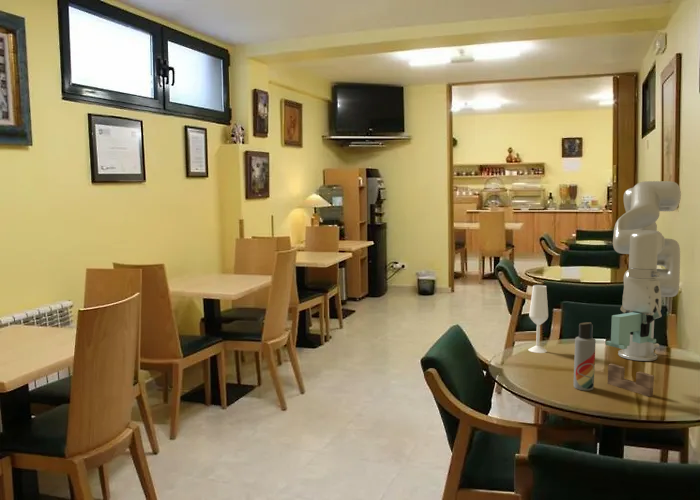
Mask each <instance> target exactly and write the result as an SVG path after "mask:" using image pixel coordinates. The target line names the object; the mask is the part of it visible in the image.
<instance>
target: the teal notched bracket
mask: <svg viewBox="0 0 700 500" xmlns="http://www.w3.org/2000/svg"><path fill="white" fill-rule="evenodd" d="M642 323H643V315H642V313H639V312H630V313H624V312H623V313H620V314H619V313H618V314H613V315H611V327H610V328H611V329H610V340H606V341H605V346H609V347H613V348H617V349H619V350H622V349H627V346H630V332H633V340H632V342H636V343H645V342H650V343H653V344H656V343H657V339H656V338H654V337H653V338H651V326H652V323H650V331H649V336H647V337H641V336H640V330H641V324H642Z"/></svg>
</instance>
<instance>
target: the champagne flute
mask: <svg viewBox="0 0 700 500" xmlns="http://www.w3.org/2000/svg"><path fill="white" fill-rule="evenodd" d="M547 293H548V292H547V285H543V284H534V285H532V291H531V297H530V306H529V314H528V317H529V319H530V320H531V321H532V322H533V323H534V324H535V325H536V333H535V334H536V338H535V339H536V341H535V343H536V344H535V345H534V346H532V347H530V348H528V350H527V351H529V352H531V353H535V354H536V353H537V354H544V353H547V352H548V350H547V349H546V348H544V347H542V346H541V345H540V344H541V343H540V339H541V338H540V337H541V336H540V335H541V325H542V324H544V323H545V322H546V321H547V320H548V318H549V307H548V304H549V303H548V294H547Z"/></svg>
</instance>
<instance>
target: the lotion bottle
mask: <svg viewBox="0 0 700 500" xmlns="http://www.w3.org/2000/svg"><path fill="white" fill-rule="evenodd" d="M578 324H579V325H578V336H575V340H574V359H573V360H574V361H573V362H574V363H573V388H574V389H577V390H579V391H588V392H589V391H593V390H594V387H595V386H594V385H595V365H596V361H595V360H596V342H597V341H596V339H595V338H593V328H594V325H593V324H592V322H591V321H589V322H587V321H585V322H580V323H578Z"/></svg>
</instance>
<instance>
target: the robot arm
mask: <svg viewBox="0 0 700 500" xmlns="http://www.w3.org/2000/svg"><path fill="white" fill-rule="evenodd" d="M681 196H682V193H681V187H680V185H679V184H678V183H677V182H675V181H671V180H668V181H667V180H665V181H662V180H661V181H659V180H656V181H655V180H653V181H652V180H651V181H650V180H649V181H647V180H646V181H641V182H637V183H636V184H635V185H634V186H633V187H630V188H628V189H626V190H625V191H624V193H623V205H624V206H623V207H624V210H625V213H623V214H622V215H621V216H620V217H618V219H617V220H616V222H615V225H614V228H613V237H612V246H613V247H612V248H613V250H614V251H615V252H616V253H617V254H622V255H628V269H627V270H626V271H625V272H624V273H623V274H624V275H623V293H622V301H621V302H622V305H620V311H621V312H622V313H623V314H624V313H630V312H639V313H642V315H643V323H642V324H641V330H640V336H641V337H647V336H649V331H650V323H652V326H651V338H653V339H654V335H655V334H654V331H655V330H654V329H655V320H656V319H659V318H662V316H663V315H662V311H661V310H662V297H666V298H673V297H676V296H677V295H678V293H679V291H680V280H681V279H680V278H681V276H680V274H681V248H680V244H679V242H678V241H677V240H676V239H673V238H665V236H664V235H663V234H662V232H661V231H658V229H657V228H658V224H657V221H658V219H659V217H660V212H674V211H676V210H677V209H678V207H679V205H680V201H681ZM658 266H661V267H664V268H658ZM632 340H633V332H630V346H627V349H619V350H617V352H618V353H617V355H618V356H619V357H620V358H623V359H627V360H631V361H638V362H651V361H653V362H654V361H655V360H657V359H658V354H657V353H656V352H654V350H658V349H660V344H659V343H657V342H656V343H650V342H645V343H636V342H632Z"/></svg>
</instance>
